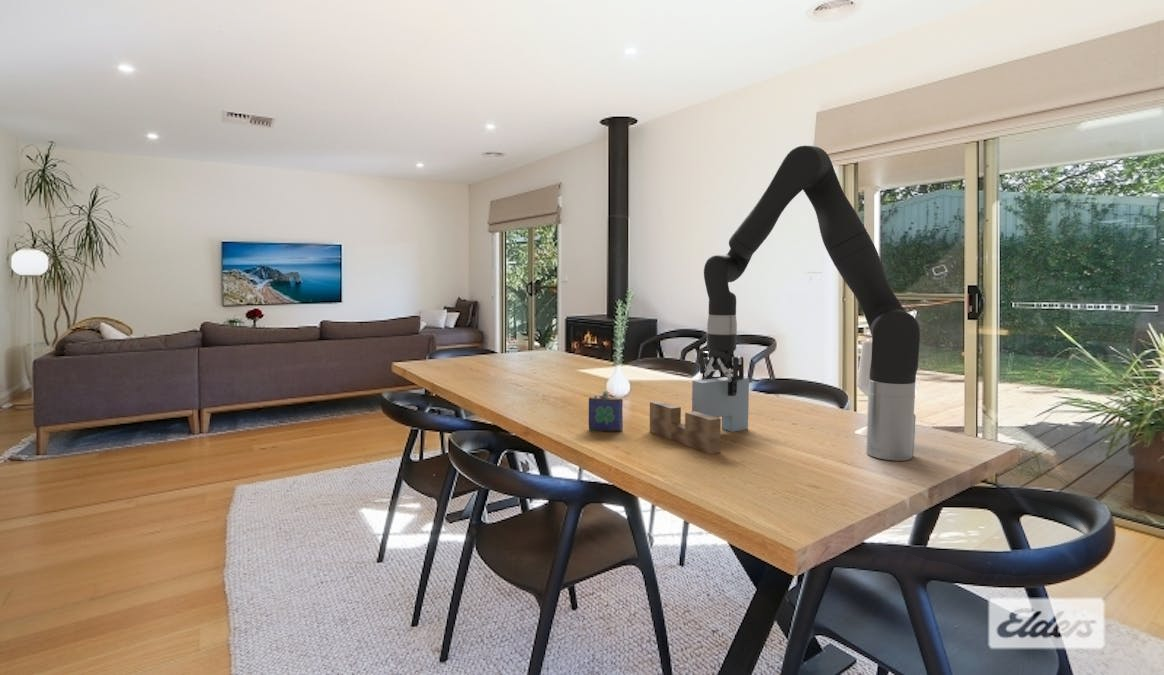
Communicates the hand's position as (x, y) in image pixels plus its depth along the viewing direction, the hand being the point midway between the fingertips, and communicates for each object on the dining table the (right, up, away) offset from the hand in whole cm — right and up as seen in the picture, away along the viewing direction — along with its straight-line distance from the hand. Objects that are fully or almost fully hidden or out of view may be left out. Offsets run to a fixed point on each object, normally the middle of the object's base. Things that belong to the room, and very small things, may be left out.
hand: (720, 393), depth 157 cm
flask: (-30, -10, +2) cm, 32 cm away
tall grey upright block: (0, -10, +1) cm, 10 cm away
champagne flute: (+38, -10, -2) cm, 40 cm away
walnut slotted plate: (-12, -11, -9) cm, 18 cm away
